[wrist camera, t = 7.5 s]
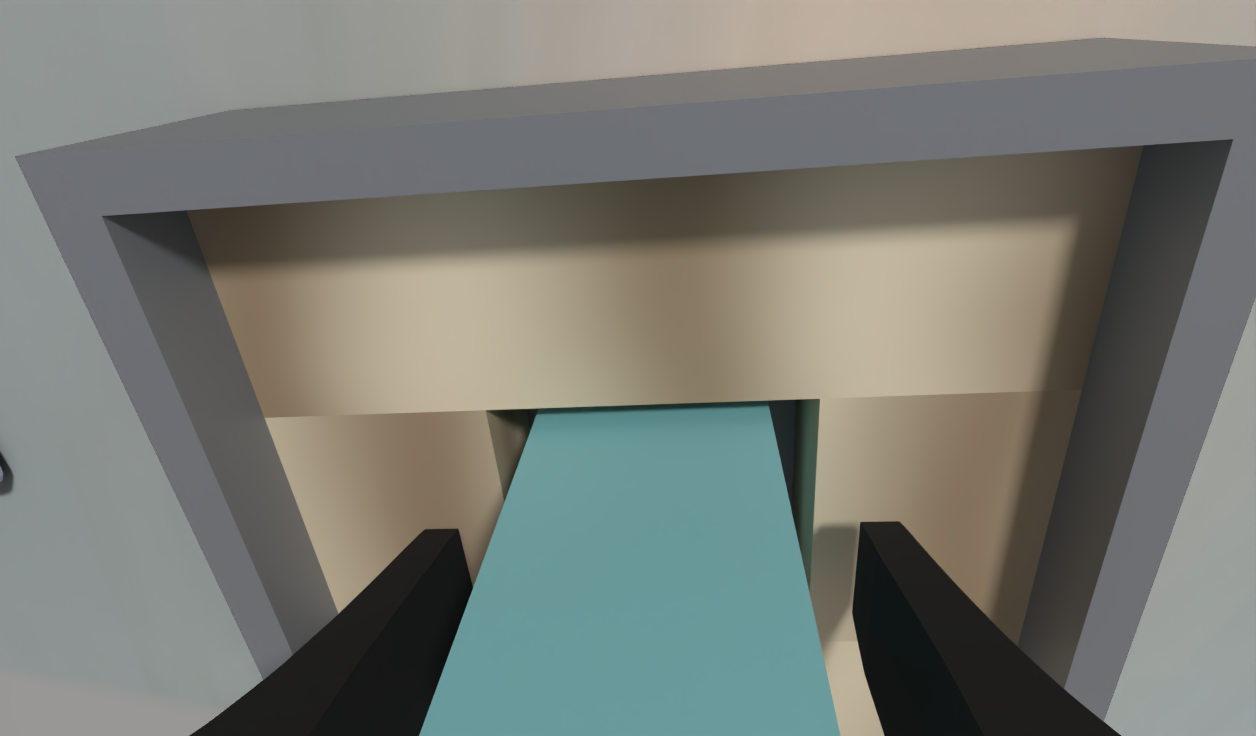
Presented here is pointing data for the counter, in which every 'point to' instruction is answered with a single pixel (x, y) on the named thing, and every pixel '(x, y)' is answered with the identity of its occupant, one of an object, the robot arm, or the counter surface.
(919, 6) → the counter surface
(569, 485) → the peg
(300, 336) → the beige frame
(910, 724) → the robot arm
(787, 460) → the box
